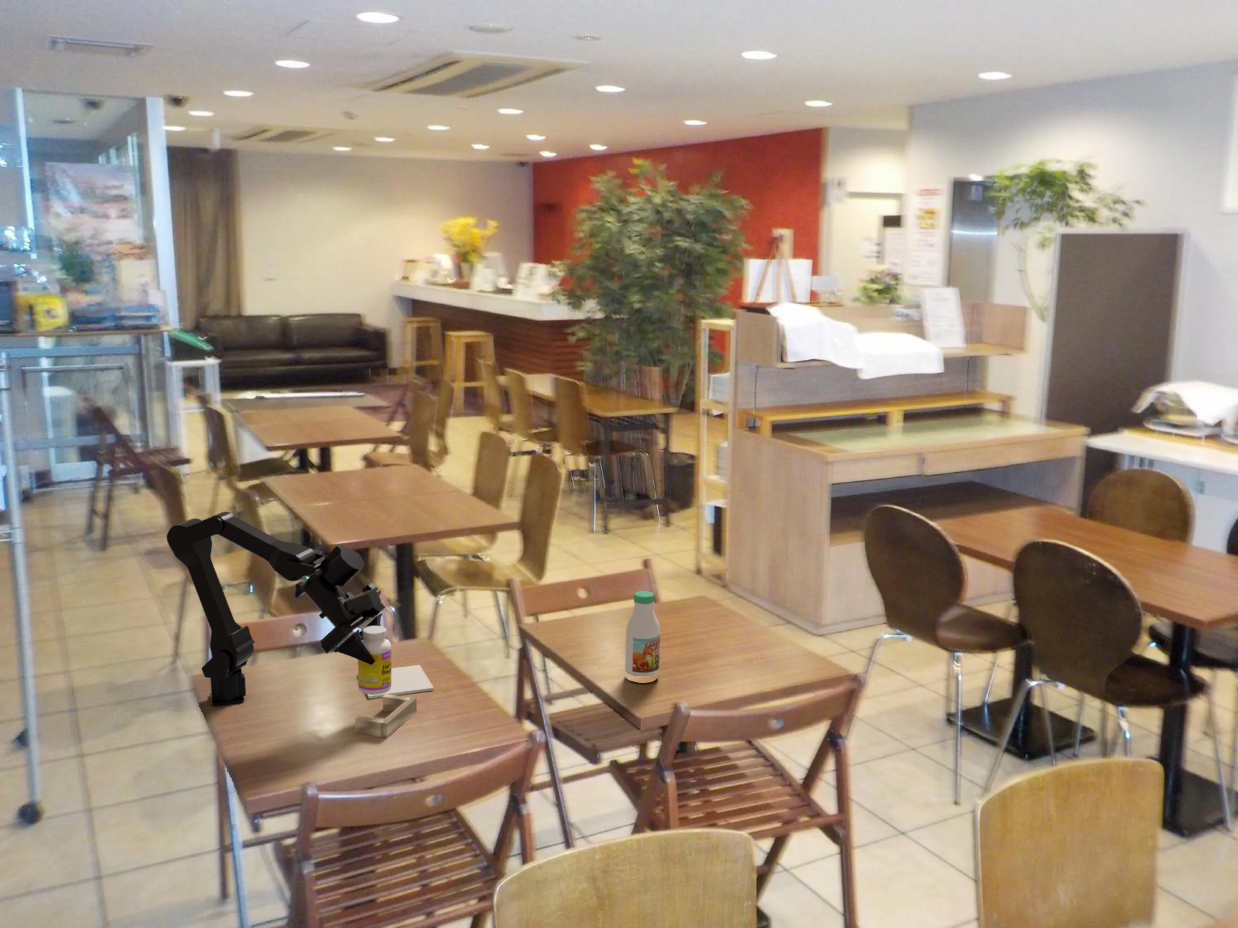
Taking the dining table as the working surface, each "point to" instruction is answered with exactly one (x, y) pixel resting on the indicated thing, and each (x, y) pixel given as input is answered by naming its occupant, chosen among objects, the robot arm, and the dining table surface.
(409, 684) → the white mat
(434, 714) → the dining table surface
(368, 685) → the supplement bottle
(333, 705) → the dining table surface
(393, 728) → the bottle cradle
